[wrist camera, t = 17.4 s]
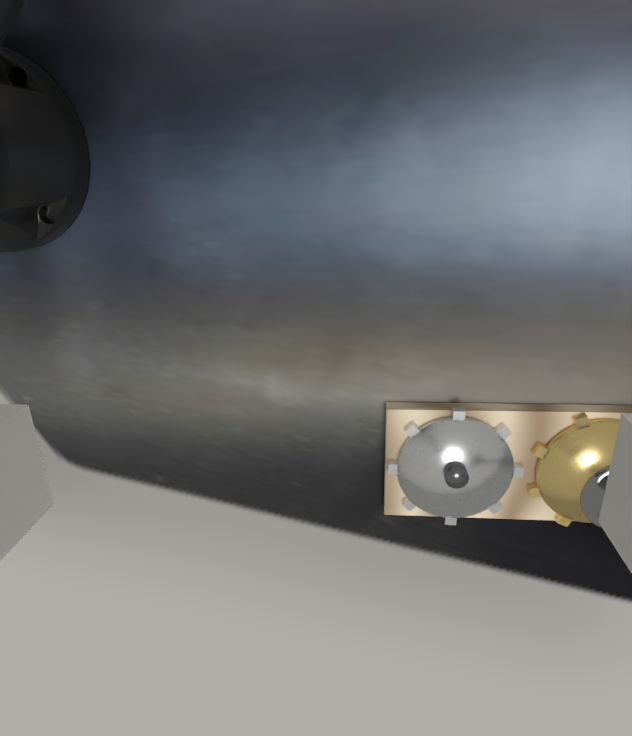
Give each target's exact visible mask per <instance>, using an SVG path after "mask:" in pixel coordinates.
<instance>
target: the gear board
mask: <svg viewBox="0 0 632 736" xmlns="http://www.w3.org/2000/svg"><path fill="white" fill-rule="evenodd" d="M621 413H632V405H583V404H505V403H428V402H386V431H385V476H384V515H411V516H440V517H444V523H445V525H456V520H457V518H460V517H469V518H498V519H527V520H556V522H557V523H558V524H561V525H563V526H566V527H568V525H569V524H570V523H571V521H579V522H587V523H592V522H591V521H589V520H588V519H587V518H586V516H585V515H584V513H583V511H582V509H581V505H580V496H581V492H582V489H583V487H584V485H585V484H586V482H587V481H588V480H589V478H590V477H591V476H592V475H594V474H595V473H596V472H597V471H599V470H601V469H602V468H604V467H606V466H609V465H611V460H612V455H613V450H614V445H615V441H616V436H617V431H618V426H619V422H620V417H621Z"/></svg>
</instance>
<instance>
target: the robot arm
mask: <svg viewBox="0 0 632 736" xmlns="http://www.w3.org/2000/svg"><path fill="white" fill-rule="evenodd" d="M24 1H25V0H0V252H15V251H21V250H25V249H29V248H33V247H37V246H41V245H44V244H46V243H48V242H50V241H52V240H54V239H56V238H57V237H59V236H60V235H61V234H62V233H64V232H65V231H66V230H67V229H68V228H69V227H70V226H71V224H72V223H73V222H74V220H75V219H76V218H77V216H78V214H79V212H80V210H81V208H82V206H83V203H84V201H85V197H86V194H87V189H88V183H89V155H88V148H87V144H86V139H85V136H84V132H83V129H82V127H81V124H80V121H79V119H78V117H77V115H76V113H75V111H74V109H73V107H72V105H71V103H70V102H69V100H68V98H67V97H66V95H65V94H64V93H63V91H62V90H61V88H60V87H59V86H58V85H57V84H56V82H55V81H54V80H53V79H52V78H51V77H50V76H49V75H48V74H47V73H46V72H45V71H44V70H43V69H42V68H40V67H39V66H38V65H37V64H36V63H34V62H33V61H31V60H30V59H29V58H27V57H25V56H24V55H22V54H20V53H18V52H16V51H14V50H12V49H10V48H7V47H5V46H2V43H3V41H4V40H5V38H6V36H7V34H8V32H9V30H10V28H11V26H12V24H13V22H14V20H15V19H16V17H17V15H18V13H19V11H20V9H21V7H22V5H23V3H24ZM53 503H54V501H53V498H52V494H51V490H50V486H49V482H48V478H47V475H46V471H45V467H44V463H43V459H42V455H41V452H40V448H39V444H38V440H37V436H36V432H35V429H34V425H33V421H32V417H31V413H30V409H29V406H28V405H18V404H0V561H1V560H2V559H3V558H4V556H5V555H6V554H7V553H8V552H9V551H10V550H11V549H12V548H13V547H14V546H15V545H16V544H17V542H18V541H19V540H20V539H21V538H22V537H23V536H24V535H25V534H26V533H27V532H28V530H30V528H31V527H32V526H33V525H34V524H35V523H36V522H37V521H38V520H39V519H40V518H41V517H42V515H43V514H44V513H45V512H46V511H47V510H48V509H49V508H50V507H51V506H52V504H53ZM599 523H600V525H601V527H602V528H603V530H604V531H605V533H606V534H607V536H608V537H609V539H610V541H611V542H612V544H613V545H614V547H615V548H616V550H617V551H618V553H619V554H620V556H621V558H622V559H623V561H624V562H625V564H626V565H627V567H628V568H629V570H630V572H631V573H632V413H621V417H620V422H619V426H618V431H617V436H616V441H615V445H614V450H613V455H612V460H611V465H610V469H609V474H608V479H607V484H606V488H605V493H604V498H603V503H602V507H601V512H600V517H599Z"/></svg>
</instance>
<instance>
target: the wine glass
mask: <svg viewBox="0 0 632 736" xmlns="http://www.w3.org/2000/svg"><path fill="white" fill-rule="evenodd" d="M609 469H610V465H609V466H606V467H604V468H602V469H601V470H599V471H597V472H596V473H595V474H594V475H592V476H591V477H590V478H589V480H588V481H587V482H586V484H585V485H584V487H583V489H582V492H581V496H580V505H581V509H582V511H583V513H584V515H585V516H586V518H587V519H588V520H589V521H591V522H592V523H593V524H595V525H597V526H599V527H601V525H600V523H599V517H600V512H601V507H602V503H603V498H604V493H605V488H606V484H607V479H608V474H609ZM601 528H602V527H601Z"/></svg>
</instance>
